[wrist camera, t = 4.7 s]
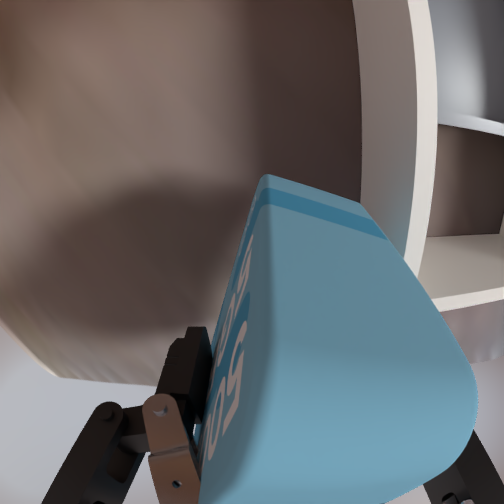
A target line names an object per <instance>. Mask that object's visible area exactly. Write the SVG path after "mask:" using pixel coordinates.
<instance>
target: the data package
mask: <svg viewBox="0 0 504 504" xmlns="http://www.w3.org/2000/svg"><path fill="white" fill-rule="evenodd" d="M211 349H212V357H213V359H212V365H211V371H210V377H209V383H208V388H207V394H206V400H205V406H204V412H203V418H202V424H196V428H195V434H194V438H195V440H196V443H197V446H198V453H197V459H198V461H199V471H200V482H201V485H200V493H199V500H198V504H381V503H386V502H389V501H391V500H393V499H395V498H397V497H399V496H401V495H403V494H405V493H407V492H409V491H411V490H413V489H415V488H417V487H418V486H420V485H422V484H424V483H426V482H427V481H429V480H431V479H432V478H434V477H436V476H437V475H439V474H441V473H442V472H443V471H445V470H446V469H447V468H449V467H450V466H451V465H452V464H453V463H454V462H455V461H456V459H457V458H458V457H459V456H460V454H461V453H462V451H463V450H464V448H465V447H466V445H467V443H468V441H469V439H470V437H471V434H472V431H473V428H474V425H475V421H476V416H477V409H478V391H477V384H476V380H475V376H474V373H473V371H472V368H471V366H470V364H469V362H468V360H467V358H466V357H465V355H464V353H463V351H462V349H461V348H460V346H459V344H458V342H457V341H456V339H455V337H454V335H453V334H452V332H451V330H450V329H449V327H448V325H447V324H446V322H445V320H444V319H443V317H442V316H441V314H440V312H439V311H438V309H437V308H436V306H435V305H434V303H433V301H432V300H431V298H430V297H429V295H428V294H427V292H426V291H425V289H424V288H423V286H422V285H421V283H420V282H419V280H418V279H417V278H416V276H415V275H414V273H413V272H412V270H411V269H410V268H409V266H408V265H407V263H406V262H405V261H404V259H403V258H402V256H401V255H400V254H399V252H398V251H397V250H396V248H395V247H394V246H393V244H392V243H391V242H390V240H389V239H388V238H387V236H386V235H385V234H384V232H383V231H382V230H381V229H380V227H379V226H378V225H377V224H376V222H375V221H374V220H373V219H372V217H371V216H370V215H369V214H368V212H367V211H366V210H365V209H364V207H363V206H362V205H361V204H360V203H358V202H355V201H352V200H349V199H347V198H344V197H341V196H338V195H335V194H332V193H329V192H326V191H323V190H320V189H316V188H313V187H310V186H307V185H304V184H301V183H297V182H294V181H291V180H287V179H284V178H281V177H277V176H274V175H270V174H265V175H263V176H262V177H261V178H260V180H259V183H258V186H257V188H256V191H255V195H254V198H253V201H252V204H251V208H250V211H249V215H248V218H247V221H246V225H245V228H244V232H243V235H242V238H241V242H240V245H239V249H238V252H237V256H236V259H235V262H234V266H233V269H232V273H231V276H230V280H229V283H228V287H227V290H226V294H225V297H224V301H223V304H222V308H221V311H220V315H219V319H218V322H217V326H216V329H215V333H214V336H213V340H212V344H211Z"/></svg>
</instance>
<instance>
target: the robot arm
mask: <svg viewBox="0 0 504 504" xmlns="http://www.w3.org/2000/svg"><path fill="white" fill-rule="evenodd" d="M212 359H213V357H212V349H211V345H210V341H209V337H208V333H207V329H206V327H188V328H187V331H186V334H185V338H177V339H176V340H175V341H174V342H173V343H172V345H171V346H170V348H169V351H168V354H167V358H166V360H165V363H164V364H165V365H164V366H163V370H162V373H161V376H160V379H159V383H158V386H157V389H156V393H155V395H153V396H151V397H149V398H148V399H147V400H146V401H145V402H144V404H143V405H141V406H136V407H130V408H123V409H122V408H121V406H120V405H119V404H117V403H115V402H104V403H102V404H100V405H99V406H97V407H96V409H95V410H94V411H93V413H92V415H91V417H90V418H89V420H88V421H87V423H86V425H85V426H84V428H83V430H82V432H81V433H80V435H79V437H78V438H77V440H76V442H75V443H74V445H73V447H72V449H71V451H70V453H69V454H68V456H67V458H66V460H65V461H64V463H63V464H62V466H61V468H60V470H59V472H58V473H57V475H56V477H55V479H54V481H53V483H52V484H51V486H50V488H49V490H48V492H47V494H46V496H45V498H44V499H43V501H42V504H122V503H123V501H124V499H125V497H126V494H127V492H128V490H129V488H130V486H131V484H132V481H133V479H134V477H135V475H136V473H137V471H138V468H139V466H140V464H141V462H142V460H143V458H144V455H145V453H146V452H151V454H150V455H149V456H148V462H149V466H150V471H151V475H152V479H153V483H154V486H155V490H156V493H157V497H158V500H159V503H160V504H198V500H199V493H200V485H201V482H200V471H199V461H198V459H197V453H198V446H197V443H196V440H195V438H194V435H193V429H194V424H202V418H203V412H204V406H205V400H206V394H207V388H208V383H209V377H210V371H211V365H212ZM423 485H424V488H425V490H426V492H427V494H428V497H429V499H430V502H431V504H504V485H503V483H502V480H501V479H500V477H499V475H498V473H497V471H496V469H495V467H494V465H493V463H492V461H491V459H490V458H489V456H488V454H487V452H486V450H485V449H484V447H483V445H482V443H481V441H480V440H479V438H478V436H477V434H476V433H475V431H474V429H473V431H472V434H471V437H470V439H469V441H468V443H467V445H466V447H465V448H464V450H463V451H462V453H461V454H460V456H459V457H458V458H457V459H456V461H455V462H454V463H453V464H452V465H451V466H450V467H449V468H447V469H446V470H445V471H443V472H442V473H441V474H439V475H437V476H436V477H434V478H432V479H431V480H429V481H427V482H426V483H424V484H423ZM381 504H384V503H381Z"/></svg>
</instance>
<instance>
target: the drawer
mask: <svg viewBox="0 0 504 504" xmlns="http://www.w3.org/2000/svg"><path fill="white" fill-rule="evenodd" d="M427 1H428V6H429V12H430V18H431V24H432V32H433V40H434V49H435V60H436V75H437V124H444V125H450V126H457V127H462V128H468V129H473V130H478V131H483V132H488V133H493V134H497V135H501V136H504V0H427Z"/></svg>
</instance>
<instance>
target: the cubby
mask: <svg viewBox="0 0 504 504" xmlns="http://www.w3.org/2000/svg"><path fill="white" fill-rule="evenodd" d="M352 2H353V9H354V16H355V24H356V33H357V43H358V53H359V66H360V81H361V104H362V177H361V200H360V204H361V205H362V206H363V207H364V209H365V210H366V211H367V212H368V214H369V215H370V216H371V217H372V219H373V220H374V221H375V222H376V224H377V225H378V226H379V227H380V229H381V230H382V231H383V232H384V234H385V235H386V236H387V238H388V239H389V240H390V242H391V243H392V244H393V246H394V247H395V248H396V250H397V251H398V252H399V254H400V255H401V256H402V258H403V259H404V261H405V262H406V263H407V265H408V266H409V268H410V269H411V270H412V272H413V273H414V275H415V276H416V278H417V279H418V280H419V282H420V283H421V285H422V286H423V288H424V289H425V291H426V292H427V294H428V295H429V297H430V298H431V300H432V301H433V303H434V305H435V306H436V308H437V309H438V311H439V312H441V311H447V310H452V309H458V308H463V307H468V306H473V305H478V304H483V303H488V302H492V301H497V300H501V299H504V215H503V219H502V224H501V228H500V232H499V234H483V235H462V236H442V237H426V234H427V228H428V222H429V215H430V208H431V201H432V193H433V184H434V174H435V162H436V147H437V75H436V60H435V49H434V40H433V32H432V24H431V18H430V12H429V6H428V1H427V0H352Z"/></svg>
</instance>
